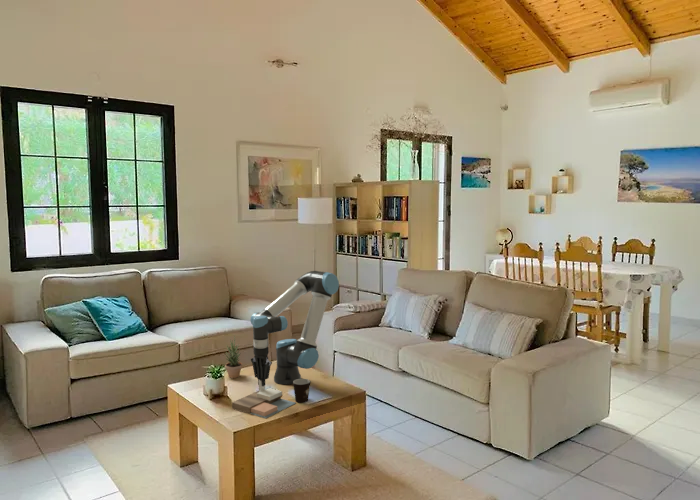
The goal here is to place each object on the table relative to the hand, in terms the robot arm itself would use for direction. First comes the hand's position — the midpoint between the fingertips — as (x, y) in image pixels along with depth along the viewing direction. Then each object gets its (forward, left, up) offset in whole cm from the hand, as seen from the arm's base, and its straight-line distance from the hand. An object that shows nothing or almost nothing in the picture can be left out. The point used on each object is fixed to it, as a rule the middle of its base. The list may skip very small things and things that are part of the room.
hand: (261, 391), depth 278 cm
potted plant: (-18, -39, -5) cm, 43 cm away
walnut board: (+5, +1, -4) cm, 7 cm away
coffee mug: (-12, +18, -5) cm, 22 cm away
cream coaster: (0, +5, -1) cm, 5 cm away
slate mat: (+5, +13, -4) cm, 15 cm away
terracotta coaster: (+11, +12, -4) cm, 17 cm away
